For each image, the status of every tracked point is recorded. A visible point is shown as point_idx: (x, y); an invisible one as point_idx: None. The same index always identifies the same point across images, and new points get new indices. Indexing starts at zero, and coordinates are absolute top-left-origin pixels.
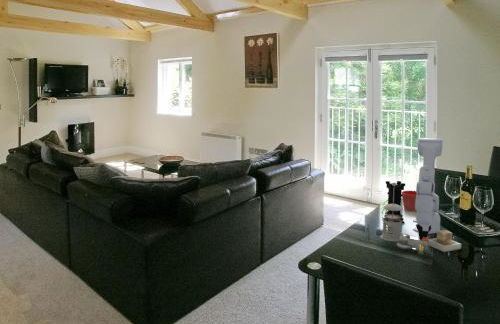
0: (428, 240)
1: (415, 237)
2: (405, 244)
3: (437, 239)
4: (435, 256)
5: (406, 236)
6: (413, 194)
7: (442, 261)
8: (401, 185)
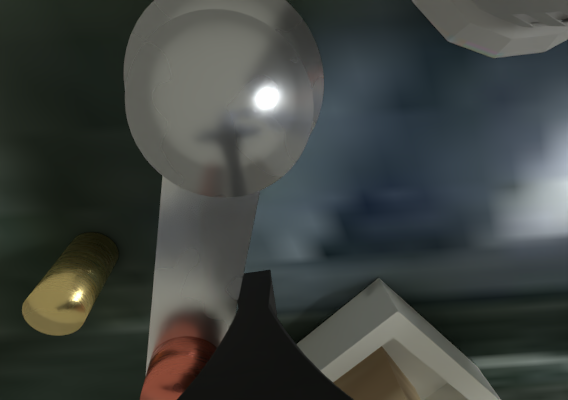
0: None
1: (243, 258)
2: None
3: (389, 392)
4: (106, 350)
5: (166, 146)
6: None
7: (21, 394)
8: None
